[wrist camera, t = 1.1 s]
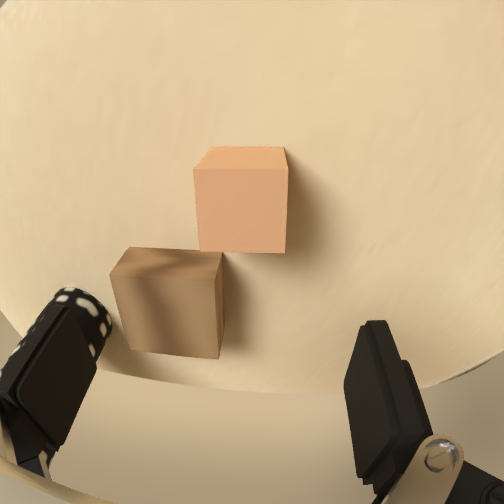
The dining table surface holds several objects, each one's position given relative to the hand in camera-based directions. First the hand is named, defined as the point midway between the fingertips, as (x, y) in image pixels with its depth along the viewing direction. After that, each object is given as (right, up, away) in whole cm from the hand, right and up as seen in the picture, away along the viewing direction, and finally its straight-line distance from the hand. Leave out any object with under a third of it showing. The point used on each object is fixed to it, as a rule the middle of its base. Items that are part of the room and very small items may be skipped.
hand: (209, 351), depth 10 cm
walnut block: (-6, 0, +22) cm, 23 cm away
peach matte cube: (+1, +9, +16) cm, 18 cm away
